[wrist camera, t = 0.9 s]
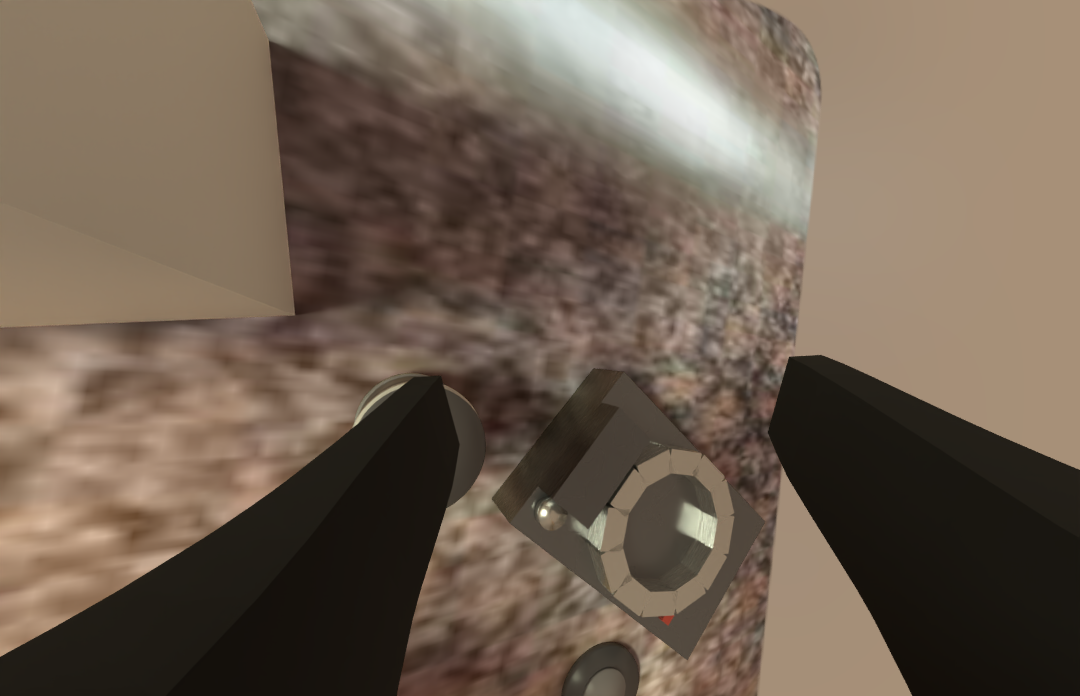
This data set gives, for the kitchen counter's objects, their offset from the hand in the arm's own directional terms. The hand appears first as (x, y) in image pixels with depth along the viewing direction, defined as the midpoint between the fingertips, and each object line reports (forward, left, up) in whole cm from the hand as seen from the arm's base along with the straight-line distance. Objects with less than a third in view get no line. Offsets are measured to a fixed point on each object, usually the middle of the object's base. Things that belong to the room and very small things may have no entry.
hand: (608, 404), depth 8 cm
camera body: (0, -12, -12) cm, 17 cm away
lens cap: (-9, -18, -13) cm, 24 cm away
